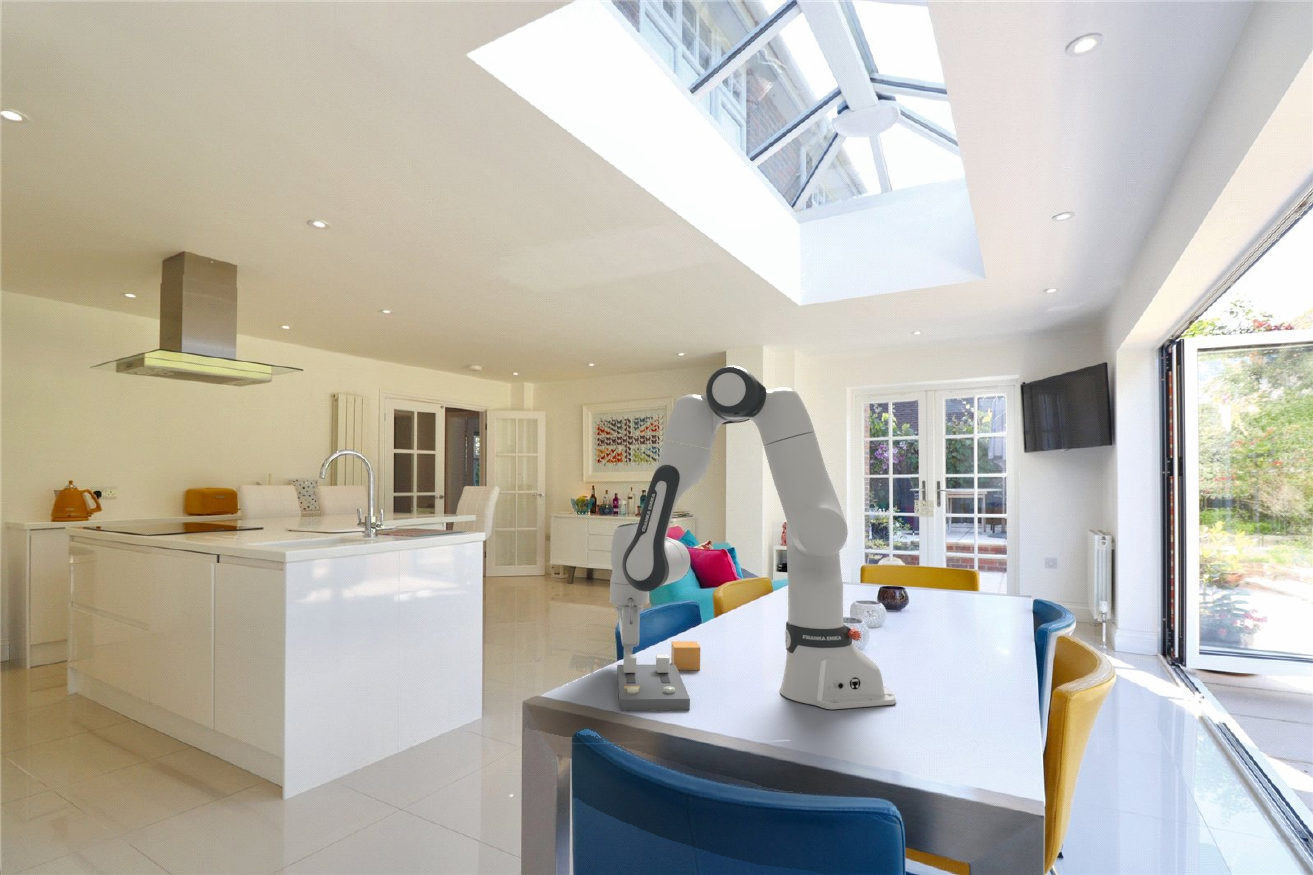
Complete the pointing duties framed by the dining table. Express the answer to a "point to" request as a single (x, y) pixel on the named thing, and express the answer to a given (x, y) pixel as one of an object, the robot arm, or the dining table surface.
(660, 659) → the block
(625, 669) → the block
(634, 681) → the breaker panel
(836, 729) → the dining table surface
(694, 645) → the cap
